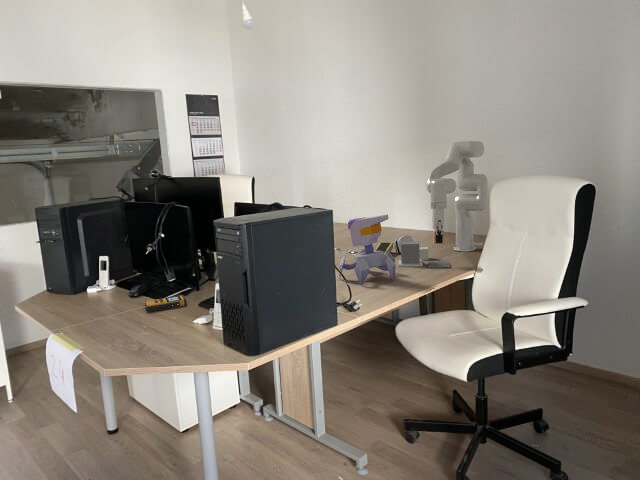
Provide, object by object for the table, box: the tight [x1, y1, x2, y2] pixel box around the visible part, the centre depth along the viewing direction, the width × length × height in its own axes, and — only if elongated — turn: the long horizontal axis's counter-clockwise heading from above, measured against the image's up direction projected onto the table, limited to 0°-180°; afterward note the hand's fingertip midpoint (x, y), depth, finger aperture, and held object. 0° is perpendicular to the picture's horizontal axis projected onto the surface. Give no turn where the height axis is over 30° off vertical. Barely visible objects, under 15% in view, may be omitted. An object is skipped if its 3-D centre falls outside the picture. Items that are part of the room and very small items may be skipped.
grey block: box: [419, 246, 429, 261], centre depth 260 cm, size 5×5×6 cm
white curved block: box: [393, 235, 415, 254], centre depth 282 cm, size 17×5×10 cm, turn 141°
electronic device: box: [144, 294, 188, 313], centre depth 203 cm, size 8×16×3 cm, turn 115°
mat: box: [427, 261, 451, 269], centre depth 245 cm, size 10×10×1 cm
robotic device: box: [338, 214, 397, 287], centre depth 226 cm, size 26×25×30 cm
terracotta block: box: [432, 229, 445, 245], centre depth 242 cm, size 5×5×6 cm
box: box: [374, 241, 394, 259], centre depth 272 cm, size 8×22×5 cm, turn 160°
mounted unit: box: [397, 241, 424, 268], centre depth 250 cm, size 12×10×11 cm
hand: (438, 241), depth 243 cm, fingers closed on terracotta block, 5 cm apart
